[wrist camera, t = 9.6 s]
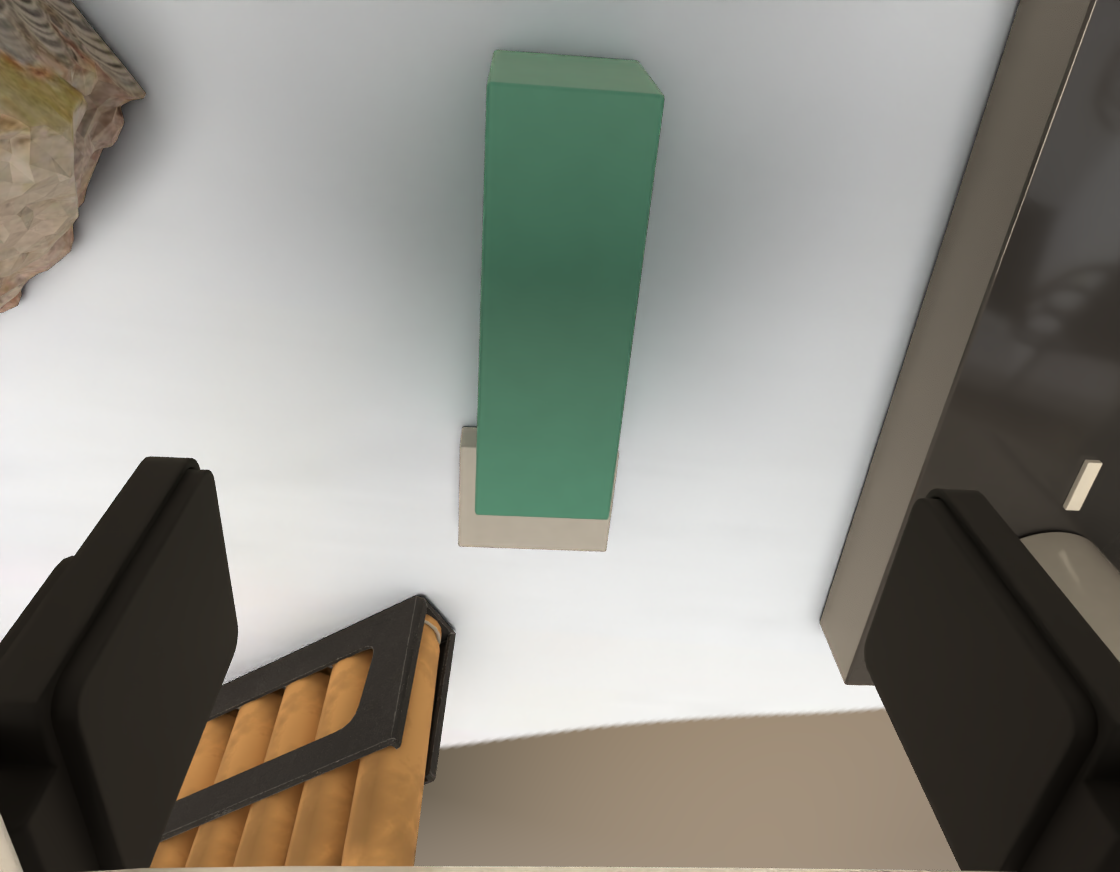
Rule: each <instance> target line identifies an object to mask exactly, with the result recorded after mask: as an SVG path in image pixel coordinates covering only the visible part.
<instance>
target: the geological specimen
mask: <svg viewBox="0 0 1120 872" xmlns="http://www.w3.org/2000/svg"><path fill="white" fill-rule="evenodd" d="M145 95H146V93H145V91H144V90H143V89H142V88H141V86H140V85H139V84H138V83H137V81H136V80H135V79H134V78H133V76H132V75H131V74H130V73H129V71H128V70H127V69H126V68H125V66H124V65H123V64H122V63H121V61H120V60H119V59H118V58H117V56H116V55H115V54H114V53H113V52H112V51H111V49H110V48H109V47H108V46H107V45H106V43H105V42H104V41H103V40H102V39H101V37H100V36H99V35H98V34H97V33H96V31H95V30H94V29H93V28H92V27H91V25H90V24H89V23H88V22H87V20H86V19H85V18H84V17H83V15H82V14H81V13H80V11H79V10H78V9H77V8H76V6H75V5H74V4H73V3H72V1H71V0H0V313H2V312H5V311H7V310H9V309H11V308H13V307H16V306H18V304H19V301H20V298H21V296H22V293H21V289H22V288H23V286H24V285H25V284H26V282H27V281H28V280H29V279H31V278H32V277H34V276H35V275H37V274H38V273H41V272H44V271H47V270H49V269H50V268H51V267H52V266H54V265H55V264H56V263H57V262H59V261H60V260H61V259H62V258H63V257H64V256H66V255H67V254H68V253H69V252H70V251H71V248H72V244H73V240H74V236H73V223H74V222H75V221H76V219H77V218H78V216H79V213H78V208H79V207H80V206H81V205H82V204H83V202H84V199H85V195H86V190H87V186H88V184H89V181H90V179H91V176H92V174H93V172H94V169H95V167H96V164H97V162H98V160H99V157H100V155H101V152H102V150H103V148H107V147H112V146H113V144H114V143H115V142H116V141H117V139H118V136H119V134H120V132H121V129H122V127H123V125H124V118H123V114H122V110H121V106H122V105H124V104H125V103H127V102H129V101H131V100H137V99H143V98H144V97H145Z"/></svg>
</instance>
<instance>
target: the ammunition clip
mask: <svg viewBox="0 0 1120 872" xmlns="http://www.w3.org/2000/svg"><path fill="white" fill-rule="evenodd" d="M455 635H456V633H455V632H454V631H453V630H452V629H451V627H450V626H449V625H448V624H447V623H446V622H445V621H444V620H443V618H442V617H441V616H440V615H439V614H438V613H437V612H436V611H435V609H434V608H433V607H432V606H431V605H430V604H429V603H428V601H427V600H426V599H425V598H422V597H419V596H414V597H412V598H410V599H408V600H406V601H404V602H402V603H399V604H397V605H395V606H393V607H391V608H389V609H387V610H384V611H382V612H380V613H378V614H376V615H374V616H372V617H369V618H367V619H365V620H363V621H361V622H359V623H357V624H354V625H352V626H350V627H348V628H346V629H344V630H341V631H339V632H337V633H335V634H333V635H331V636H329V637H326V638H324V639H322V640H320V641H318V642H316V643H314V644H311V645H309V646H307V647H305V648H303V649H301V650H299V651H296V652H294V653H292V654H290V655H288V656H286V657H283V658H281V659H279V660H277V661H275V662H273V663H271V664H268V665H266V666H264V667H262V668H260V669H258V670H256V671H253V672H251V673H249V674H247V675H245V676H243V677H241V678H238V679H236V680H234V681H232V682H230V683H228V684H226V685H223V686H221V688H220V691H219V693H218V696H217V698H216V701H215V704H214V706H213V709H212V711H211V714H210V716H209V719H208V721H207V724H206V726H205V729H204V731H203V734H202V736H201V739H200V741H199V744H198V747H197V749H196V752H195V754H194V757H193V759H192V762H191V764H190V767H189V769H188V772H187V774H186V777H185V779H184V782H183V785H182V787H181V790H180V792H179V795H178V797H177V800H176V802H175V805H174V807H173V810H172V812H171V815H170V817H169V820H168V822H167V825H166V828H165V830H164V833H163V835H162V838H161V840H160V843H159V845H158V848H157V850H156V853H155V855H154V858H153V860H152V863H151V865H150V868H194V867H262V866H414V861H415V853H416V845H417V837H418V828H419V820H420V811H421V803H422V795H423V787H424V785H425V784H427V783H430V782H432V781H434V779H435V776H436V769H437V762H438V755H439V748H440V741H441V734H442V727H443V720H444V713H445V705H446V698H447V691H448V684H449V677H450V670H451V663H452V656H453V649H454V642H455Z"/></svg>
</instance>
